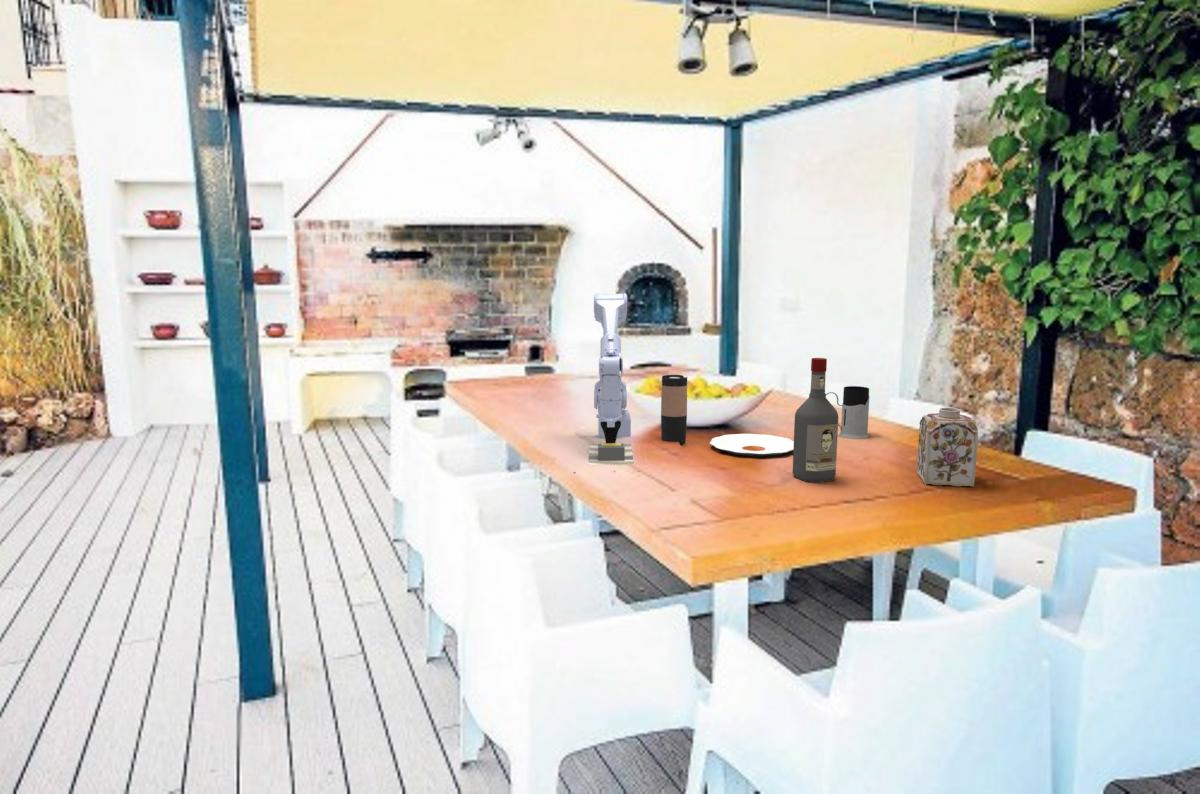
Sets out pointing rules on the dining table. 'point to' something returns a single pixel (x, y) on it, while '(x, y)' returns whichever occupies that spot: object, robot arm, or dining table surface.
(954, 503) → the dining table surface
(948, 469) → the decorative jar
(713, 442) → the plate
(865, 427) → the glass holder
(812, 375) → the liquor
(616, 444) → the block
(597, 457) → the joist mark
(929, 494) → the dining table surface
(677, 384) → the travel mug
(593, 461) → the subfloor plank
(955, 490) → the dining table surface
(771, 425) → the dining table surface
